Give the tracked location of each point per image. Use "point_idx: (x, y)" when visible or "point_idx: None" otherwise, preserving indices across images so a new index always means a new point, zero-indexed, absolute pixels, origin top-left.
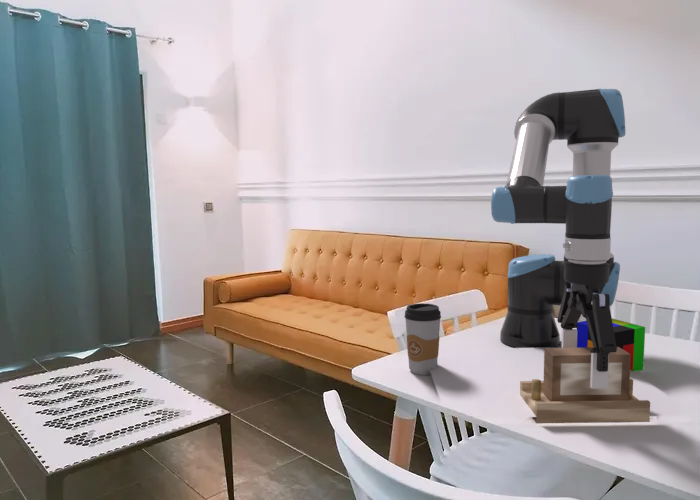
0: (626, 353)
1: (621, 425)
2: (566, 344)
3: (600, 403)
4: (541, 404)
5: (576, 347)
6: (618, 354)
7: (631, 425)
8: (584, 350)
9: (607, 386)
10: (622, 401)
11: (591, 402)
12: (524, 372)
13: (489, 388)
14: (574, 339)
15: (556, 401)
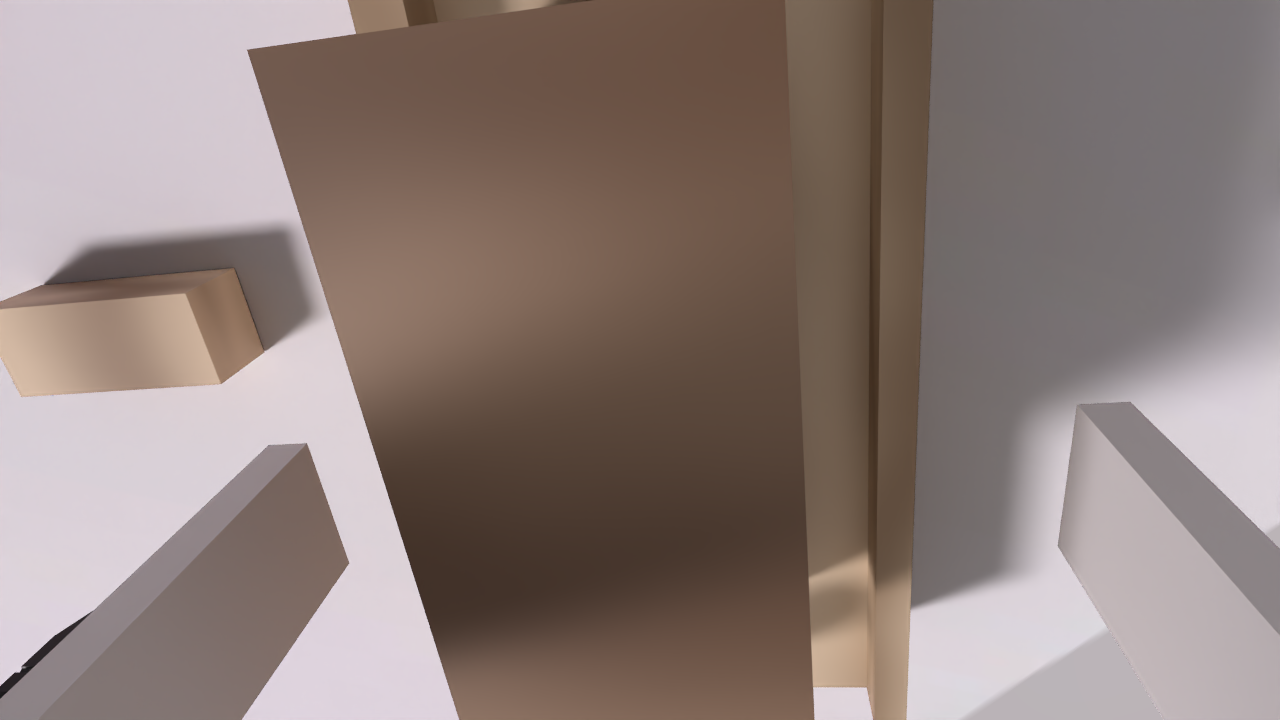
0: (708, 47)
1: (941, 125)
2: (223, 696)
3: (919, 325)
4: (906, 696)
5: (199, 557)
6: (785, 247)
7: (947, 42)
8: (582, 667)
9: (1137, 414)
10: (905, 120)
11: (908, 395)
12: (64, 496)
13: (404, 716)
14: (129, 671)
15: (877, 615)
